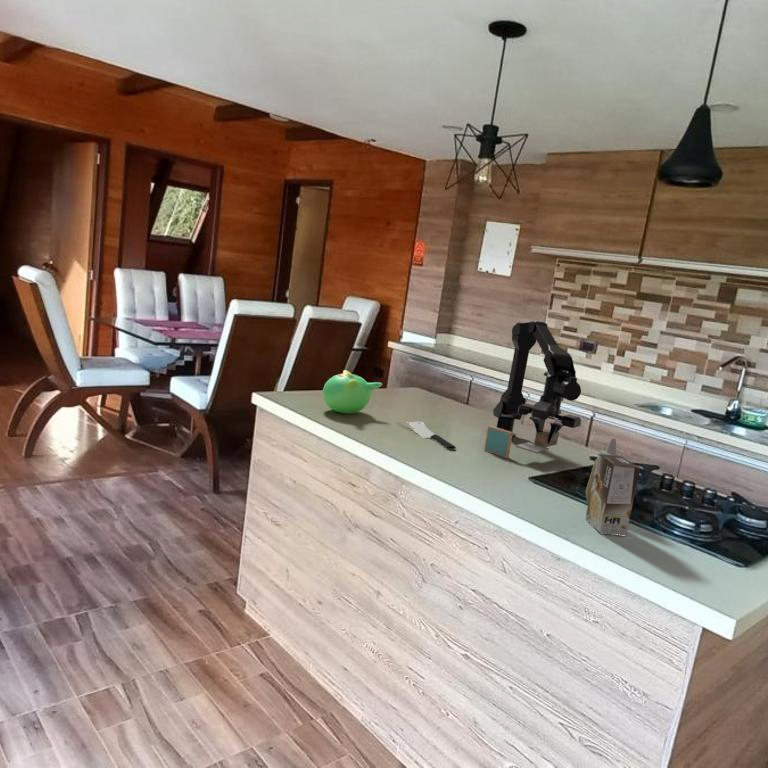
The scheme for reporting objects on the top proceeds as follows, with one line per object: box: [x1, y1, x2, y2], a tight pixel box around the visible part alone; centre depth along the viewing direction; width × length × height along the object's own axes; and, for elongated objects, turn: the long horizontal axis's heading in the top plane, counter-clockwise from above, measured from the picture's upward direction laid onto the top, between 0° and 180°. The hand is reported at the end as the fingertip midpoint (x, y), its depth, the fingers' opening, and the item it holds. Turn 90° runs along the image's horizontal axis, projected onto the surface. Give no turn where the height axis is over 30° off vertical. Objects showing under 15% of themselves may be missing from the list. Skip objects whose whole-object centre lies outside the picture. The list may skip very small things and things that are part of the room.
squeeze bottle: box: [585, 437, 621, 504], centre depth 156 cm, size 8×8×18 cm
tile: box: [483, 425, 514, 459], centre depth 195 cm, size 1×8×8 cm, turn 50°
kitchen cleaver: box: [406, 421, 456, 451], centre depth 207 cm, size 31×2×10 cm
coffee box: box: [585, 453, 641, 536], centre depth 143 cm, size 9×6×16 cm
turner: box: [515, 429, 560, 454], centre depth 195 cm, size 18×7×4 cm, turn 140°
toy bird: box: [322, 369, 383, 415], centre depth 222 cm, size 18×17×15 cm
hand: (544, 442), depth 197 cm, fingers closed on turner, 3 cm apart
